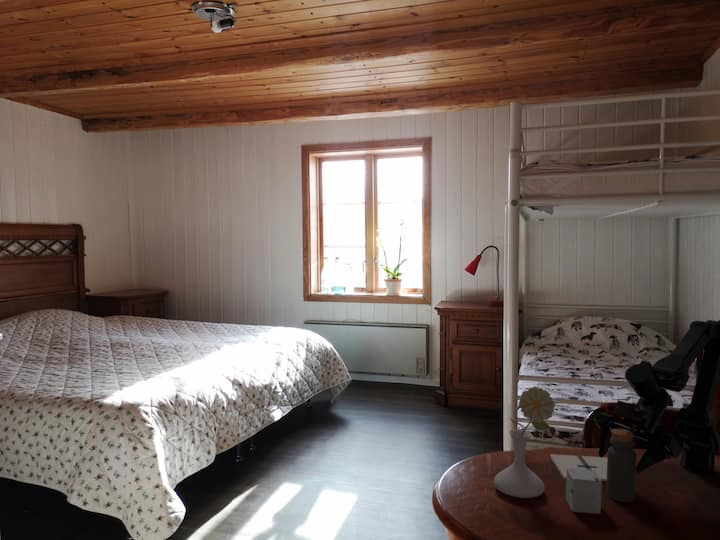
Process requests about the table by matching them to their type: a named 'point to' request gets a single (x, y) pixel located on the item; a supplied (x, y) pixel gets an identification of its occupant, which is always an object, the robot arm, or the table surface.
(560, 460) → the letter card
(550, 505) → the table surface
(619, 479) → the bottle
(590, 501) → the skincare box
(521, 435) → the flower in vase
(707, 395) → the robot arm
